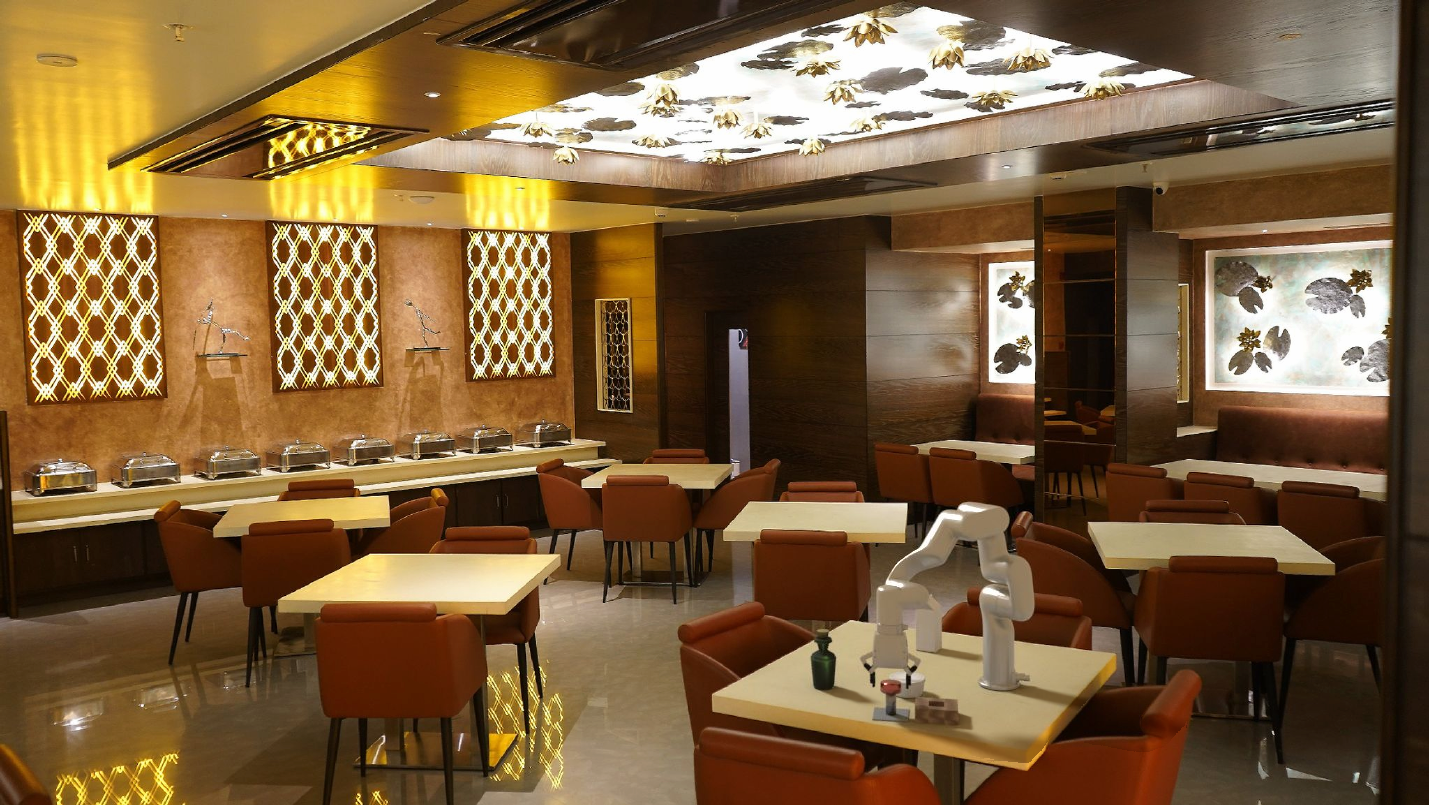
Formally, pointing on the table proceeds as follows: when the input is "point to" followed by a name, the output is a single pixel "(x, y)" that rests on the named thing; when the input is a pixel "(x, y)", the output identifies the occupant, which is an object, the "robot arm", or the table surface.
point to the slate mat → (881, 715)
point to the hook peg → (890, 694)
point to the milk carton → (929, 626)
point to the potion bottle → (823, 662)
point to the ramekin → (915, 687)
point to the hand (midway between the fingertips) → (890, 686)
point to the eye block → (936, 711)
